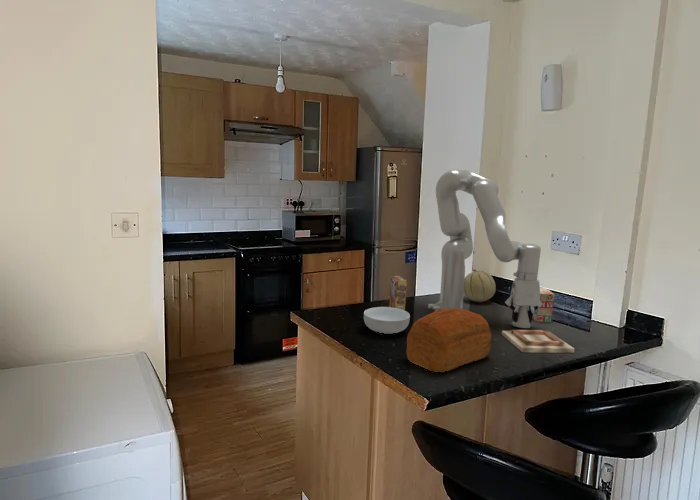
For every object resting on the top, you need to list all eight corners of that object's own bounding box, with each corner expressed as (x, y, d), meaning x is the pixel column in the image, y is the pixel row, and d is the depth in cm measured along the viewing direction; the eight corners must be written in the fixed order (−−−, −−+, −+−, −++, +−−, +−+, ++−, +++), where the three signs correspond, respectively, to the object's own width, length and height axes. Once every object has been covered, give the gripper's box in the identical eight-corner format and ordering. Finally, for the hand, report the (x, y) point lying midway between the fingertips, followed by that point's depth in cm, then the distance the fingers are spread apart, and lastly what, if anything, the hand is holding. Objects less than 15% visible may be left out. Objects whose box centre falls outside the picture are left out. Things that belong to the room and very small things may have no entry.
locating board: (522, 352, 162) (522, 344, 161) (501, 334, 179) (502, 327, 179) (574, 352, 163) (574, 345, 163) (548, 335, 181) (549, 328, 180)
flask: (530, 324, 192) (533, 300, 190) (531, 330, 185) (534, 304, 183) (511, 322, 194) (514, 297, 192) (511, 327, 187) (514, 302, 185)
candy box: (405, 316, 197) (407, 280, 195) (395, 317, 196) (397, 280, 194) (398, 310, 206) (400, 275, 204) (388, 310, 205) (390, 275, 203)
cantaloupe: (495, 307, 217) (497, 274, 215) (461, 303, 221) (464, 271, 218) (493, 299, 232) (495, 268, 229) (461, 296, 235) (464, 266, 233)
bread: (494, 358, 156) (499, 310, 153) (440, 377, 139) (444, 324, 136) (454, 343, 168) (457, 299, 166) (400, 360, 151) (403, 311, 149)
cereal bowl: (353, 330, 178) (354, 312, 176) (382, 321, 190) (383, 304, 189) (390, 342, 166) (391, 323, 165) (418, 332, 178) (419, 313, 177)
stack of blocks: (518, 308, 218) (521, 281, 216) (532, 308, 218) (535, 281, 216) (536, 322, 197) (539, 292, 195) (551, 322, 197) (555, 293, 195)
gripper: (509, 277, 182) (504, 324, 185) (553, 279, 183) (547, 325, 186) (501, 273, 189) (497, 318, 192) (543, 274, 190) (538, 319, 193)
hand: (521, 321), depth 189 cm, fingers closed on flask, 4 cm apart
